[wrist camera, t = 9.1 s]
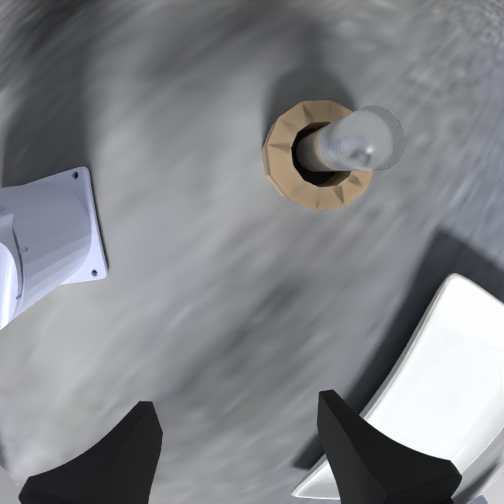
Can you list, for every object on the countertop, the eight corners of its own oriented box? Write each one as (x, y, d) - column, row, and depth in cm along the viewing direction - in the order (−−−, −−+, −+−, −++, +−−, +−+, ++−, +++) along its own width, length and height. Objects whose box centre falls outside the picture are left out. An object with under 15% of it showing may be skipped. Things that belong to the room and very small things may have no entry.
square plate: (426, 256, 22) (454, 269, 19) (542, 328, 26) (560, 340, 23) (284, 475, 28) (288, 501, 24) (436, 475, 32) (446, 491, 28)
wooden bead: (270, 210, 20) (276, 216, 18) (256, 114, 19) (261, 104, 16) (360, 199, 21) (379, 203, 18) (349, 108, 19) (366, 99, 16)
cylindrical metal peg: (298, 175, 20) (356, 176, 10) (289, 140, 19) (339, 110, 10) (332, 167, 20) (411, 163, 10) (322, 133, 19) (395, 102, 10)
